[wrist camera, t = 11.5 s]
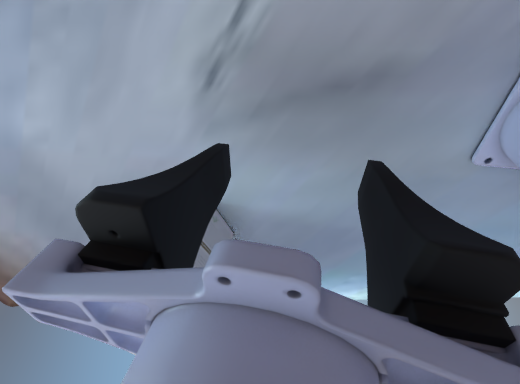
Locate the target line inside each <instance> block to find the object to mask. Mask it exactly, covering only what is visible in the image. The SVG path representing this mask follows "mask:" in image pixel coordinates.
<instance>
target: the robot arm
mask: <svg viewBox="0 0 520 384" xmlns="http://www.w3.org/2000/svg"><path fill="white" fill-rule="evenodd" d="M487 158H490V159H489V160H487V161H485V160H486V159H487ZM472 162H473V163H474V164H475V165H480V166H490V167H500V168H510V169H520V78H519V80H518V81H517V83H516V85H515V86H514V88H513V90H512V91H511V93H510V95H509V96H508V98H507V100H506V101H505V103H504V105H503V107H502V108H501V110H500V112H499V113H498V115H497V117H496V118H495V120H494V122H493V123H492V125H491V127H490V128H489V130H488V132H487V133H486V135H485V137H484V138H483V140H482V142H481V143H480V145H479V147H478V148H477V150H476V152H475V153H474V155H473V157H472ZM230 178H231V167H230V154H229V144H220V143H218V144H215V145H213V146H212V147H210V148H208V149H207V150H205V151H203V152H201V153H200V154H198V155H196V156H195V157H193V158H191V159H189V160H187V161H185V162H183V163H181V164H179V165H177V166H175V167H173V168H170V169H168V170H165V171H163V172H160V173H157V174H154V175H151V176H148V177H145V178H141V179H137V180H133V181H128V182H123V183H118V184H111V185H105V186H97V187H96V188H95V189H94V190H93V191H91V192H90V193H89V194H88V195H87V196H86V197H85V198H84V199H82V200H81V201H80V202H79V203H78V204H77V206H76V208H75V210H76V216H77V218H78V221H79V222H80V224H81V226H82V227H83V229H84V231H85V232H86V234H87V235H88V237H89V239H90V240H91V241H90V242H89V243H88V244H87V245H86V246H84V245H82V244H81V243H78V242H74V241H69V240H63V239H54V240H53V241H52V242H51V243H50V244H49V245H48V246H47V247H46V248H45V249H44V250H42V251H41V252H40V253H39V254H38V255H37V256H36V257H35V258H34V259H33V260H32V261H31V262H30V263H29V264H27V265H26V266H25V267H24V268H23V269H22V270H21V271H20V272H19V273H18V274H17V275H16V276H15V277H14V278H13V279H11V280H10V281H9V282H8V283H7V284H6V285H5V286H4V287H3V288H2V291H3V292H4V293H5V294H6V295H8V296H9V297H10V298H11V299H12V300H13V301H15V302H16V303H17V304H18V305H19V306H20V307H21V308H23V309H24V310H25V311H26V312H27V313H28V314H30V315H31V316H32V317H33V318H34V319H35V320H36V321H38V322H40V323H44V324H48V325H51V326H55V327H59V328H62V329H66V330H69V331H72V332H75V333H78V334H81V335H84V336H87V337H90V338H93V339H96V340H98V341H101V342H104V343H106V344H109V345H112V346H115V347H118V348H120V349H123V350H126V351H128V352H131V353H134V354H136V356H135V358H134V360H133V362H132V364H131V365H130V367H129V369H128V371H127V373H126V375H125V377H124V379H123V381H122V383H121V384H520V326H511V327H509V325H508V323H507V322H506V320H505V318H504V317H507V316H508V315H509V312H508V310H507V308H506V307H505V305H504V303H505V302H506V301H508V300H509V299H510V298H511V297H512V296H514V295H515V294H516V293H517V292H518V291H520V258H519V257H518V255H517V254H516V252H515V251H514V249H513V248H511V247H509V246H506V245H504V244H502V243H499V242H497V241H495V240H492V239H490V238H487V237H485V236H483V235H481V234H479V233H477V232H475V231H473V230H471V229H469V228H467V227H465V226H463V225H461V224H459V223H457V222H456V221H454V220H452V219H451V218H449V217H447V216H445V215H444V214H442V213H441V212H439V211H438V210H436V209H435V208H433V207H432V206H430V205H429V204H428V203H426V202H425V201H423V200H422V199H421V198H420V197H418V196H417V195H416V194H415V193H414V192H413V191H411V190H410V189H409V188H408V187H407V186H406V185H405V184H404V183H403V182H402V181H401V180H400V179H399V178H398V177H397V176H396V175H395V174H394V173H393V172H392V171H391V170H390V169H389V168H388V167H387V166H386V165H385V164H384V163H383V162H381V161H373V160H368V163H367V166H366V169H365V172H364V175H363V178H362V181H361V184H360V188H359V191H358V209H359V215H360V221H361V226H362V231H363V237H364V242H365V249H366V263H367V289H368V306H367V305H364V304H362V303H359V302H357V301H355V300H352V299H350V298H347V297H345V296H342V295H340V294H337V293H335V292H332V291H330V290H327V289H325V288H323V287H321V267H320V263H319V262H318V261H317V260H316V259H315V258H314V257H313V256H311V255H310V254H308V253H305V252H302V251H299V250H296V249H290V248H284V247H278V246H272V245H266V244H261V243H255V242H249V241H243V240H237V239H236V240H222V241H220V242H218V243H216V244H215V245H214V246H213V249H212V251H211V253H210V256H209V258H208V260H207V262H206V265H205V267H200V268H193V266H194V263H195V260H196V257H197V254H198V251H199V248H200V245H201V243H202V240H203V237H204V235H205V232H206V229H207V227H208V224H209V222H210V220H211V218H212V216H213V214H214V212H215V211H216V209H217V207H218V205H219V203H220V201H221V199H222V197H223V195H224V193H225V191H226V189H227V186H228V184H229V181H230Z"/></svg>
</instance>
